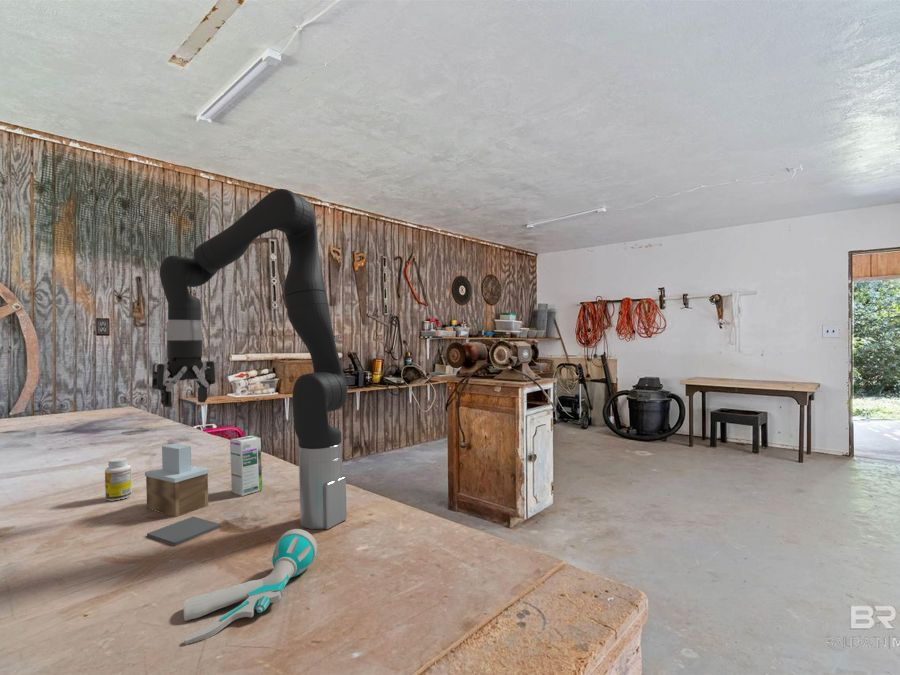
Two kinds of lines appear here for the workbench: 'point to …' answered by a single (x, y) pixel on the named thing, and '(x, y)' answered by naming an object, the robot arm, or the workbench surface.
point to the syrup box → (246, 465)
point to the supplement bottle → (118, 479)
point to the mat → (183, 530)
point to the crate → (177, 495)
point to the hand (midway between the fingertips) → (185, 404)
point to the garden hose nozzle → (254, 586)
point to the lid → (176, 465)
